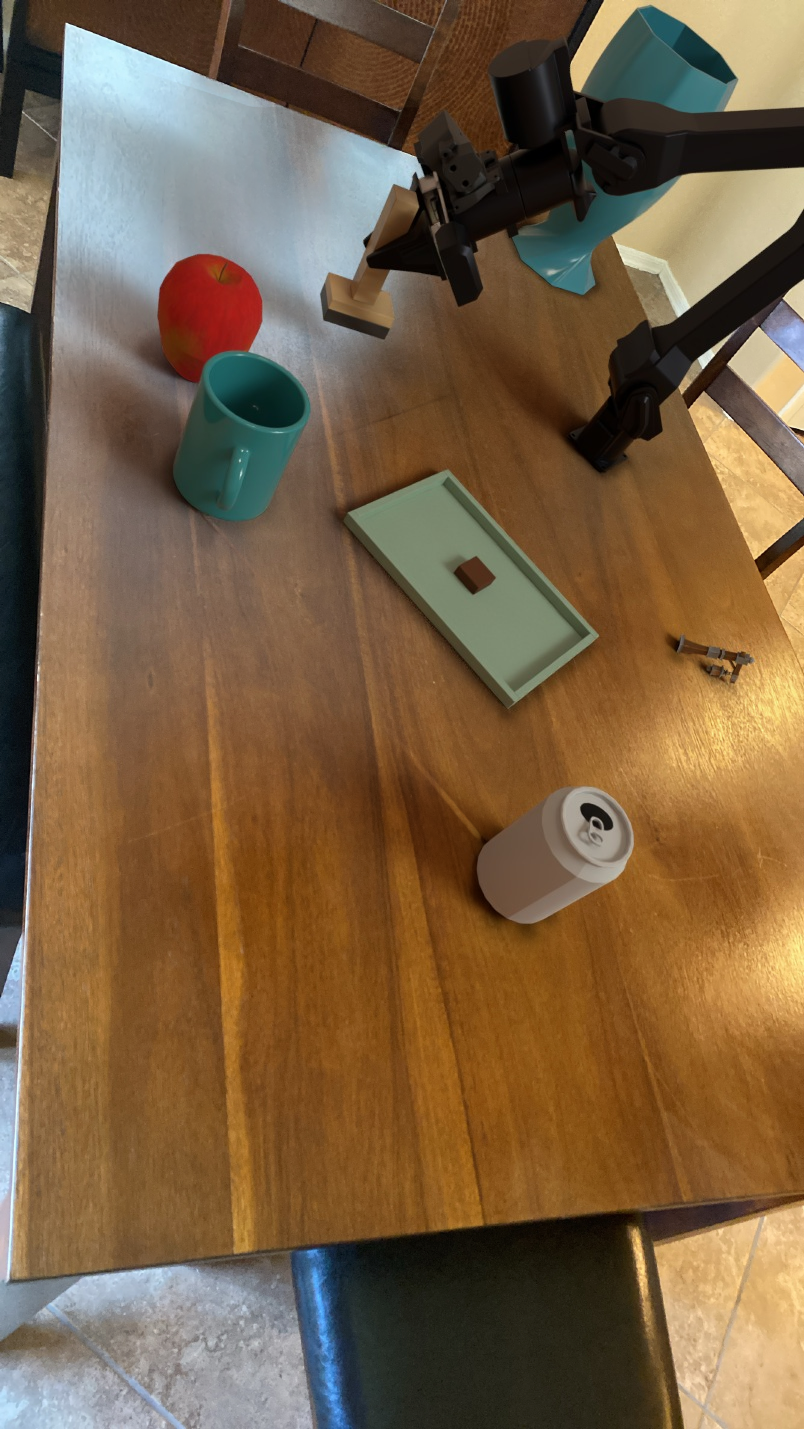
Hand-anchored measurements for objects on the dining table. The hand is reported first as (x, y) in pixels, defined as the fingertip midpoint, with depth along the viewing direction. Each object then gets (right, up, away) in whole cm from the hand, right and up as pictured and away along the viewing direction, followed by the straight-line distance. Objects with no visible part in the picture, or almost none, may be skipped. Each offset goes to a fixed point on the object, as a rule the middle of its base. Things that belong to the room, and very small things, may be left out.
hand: (365, 254), depth 86 cm
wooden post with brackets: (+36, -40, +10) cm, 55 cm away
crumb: (+10, -32, 0) cm, 34 cm away
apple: (-17, -12, -2) cm, 21 cm away
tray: (+10, -33, 0) cm, 35 cm away
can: (+12, -59, -15) cm, 63 cm away
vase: (+26, +23, +44) cm, 56 cm away
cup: (-13, -26, -8) cm, 31 cm away
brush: (-2, -4, +6) cm, 7 cm away
